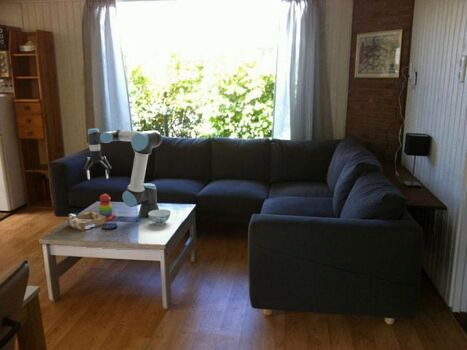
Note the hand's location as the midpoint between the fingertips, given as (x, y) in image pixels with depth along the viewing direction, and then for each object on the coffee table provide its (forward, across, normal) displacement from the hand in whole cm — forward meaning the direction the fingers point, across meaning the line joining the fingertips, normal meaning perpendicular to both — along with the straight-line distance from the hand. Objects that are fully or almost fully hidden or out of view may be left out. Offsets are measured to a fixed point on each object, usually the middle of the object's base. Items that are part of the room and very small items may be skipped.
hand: (98, 178), depth 305 cm
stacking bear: (+26, -8, +14) cm, 31 cm away
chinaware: (+27, -48, +27) cm, 61 cm away
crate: (+26, +2, +27) cm, 38 cm away
